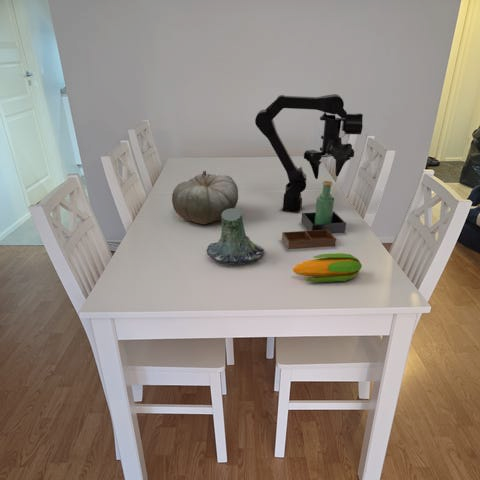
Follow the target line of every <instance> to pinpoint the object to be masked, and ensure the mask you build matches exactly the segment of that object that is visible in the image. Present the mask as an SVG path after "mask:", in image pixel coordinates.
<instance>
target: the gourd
mask: <svg viewBox="0 0 480 480" xmlns="http://www.w3.org/2000/svg"><path fill="white" fill-rule="evenodd" d="M238 201H239V189H238V185H237V183H236V182H235V180H234V179H233V178H232V177H231V176H230V175H227V174H212V173H207V170H203V171H202V173H200V174H196V175H195V176H194V177H193V178H190V179H189V180H186V181H182V182H180V183H178V184H177V185H176V187H174V189H173V191H172V195H171V203H172V207H173V210H174V211H175V213H176V214H177V215H178V216H179V217H180V218H181V219H183V220H185V221H187V222H193V223H195V224H198V225H207V224H209V223H212V222H215V221H219V220H222V212H223V211H224V210H226V209H231V208H236V206H237V204H238Z"/></svg>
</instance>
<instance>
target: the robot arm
mask: <svg viewBox="0 0 480 480" xmlns="http://www.w3.org/2000/svg"><path fill="white" fill-rule="evenodd" d="M344 106H345V103H344V99H343V98H342V97H341V95H339V94H337V93H334V94H327V95H322V96H298V95H295V96H294V95H284V94H280V95H278V96H277V97H276V99H275V100H274V101H273V102H271V103H270V104H269V105H268V106H267V107H266V108H265V109H261V110H259V111H258V112H257V114H256V116H255V120H254V123H255V126H256V128H257V129H258V130H259V132H261V133H262V135H264V136H265V137H266V138H267V140H268V142H269V143H270V145H271V147H272V148H273V150H274V152H275V154H276V156H277V157H278V159H279V162H280V163H281V165H282V166H283V168H284V170H285V172H286V176H287V179H288V183H287V184H285V187H284V188H285V189H284V190H285V191H284V193H283V202H282V208H281V211H282V212H289V213H299V212H300V210H301V209H302V206H303V197H302V192H304V191H306V188H307V174H305V172H304V169H303V167H302V166H300V167H298V166H296V164H295V162H294V161H293V159H292V157H291V155H290V154H289V152H288V151H289V150H287V148H286V146H285V144H284V143H283V140H282V139H281V137H280V134H279V133H278V130H277V128H276V124H275V121H274V119H275V118H276V117H277V116H278V115H279V113H280V112H281V111H282V110H283V109H295V110H312V111H313V110H314V111H320V112H323V114H322V115H320V116H319V120H320V121H324V124H323V125H324V126H323V134H322V135H321V136H320V139H321V140H322V144H321V147H319V151H318V150H315V149H308V150H305V151H304V152H303V159H304V160H306V161H307V162H308V163H309V164H310V165H309V166H310V167H311V169H312V173H313V176H314V179H315V180H318V179H319V173H320V165H321V163H322V161H321V159H322V158H327V157H328V158H329V157H333V159H334V160H335V169H334V171H335V176H336V177H339V176H340V173H341V171H342V169H343V167H344V166H345V164H346V163H347V162H348V161H350V160H351V158H354V157H355V150H354V148H353V144H351V143H350V142H349V143H343V142H342V140H343V139H342V137H340V136H341V135H340V134H341V131H342V132H344V135H359V136H360V135H362V131H363V127H364V125H363V117H364V114H363V113H359V112H358V113H348V111H347V110H345V109H344ZM336 115H337V116H339V117H336Z"/></svg>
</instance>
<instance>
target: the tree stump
mask: <svg viewBox="0 0 480 480" xmlns="http://www.w3.org/2000/svg"><path fill="white" fill-rule="evenodd" d="M220 232H221V233H220V238H219V239H218V241H217V242H212V243H209V244H208V245H207V248H206V254H207V256H209V257H210V258H211V259H212V260H214V261H216V262H217V263H222V264H230V265H239V266H240V265H245V264H249V263H252V262H253V263H254V262H256V261H258V260H259V259H260V258H262V256H264V252H265V250H264V248H262V247H260V245H258V244H256V243H254V242H253V241H252V240H251V239H250V237H249V236H247V235H246V230H245V227H244V219H243V213H242V211H241V210H240V209H239V208H236V207H235V208H231V209H226V210H224V211H223V212H222V219H221V231H220Z"/></svg>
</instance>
